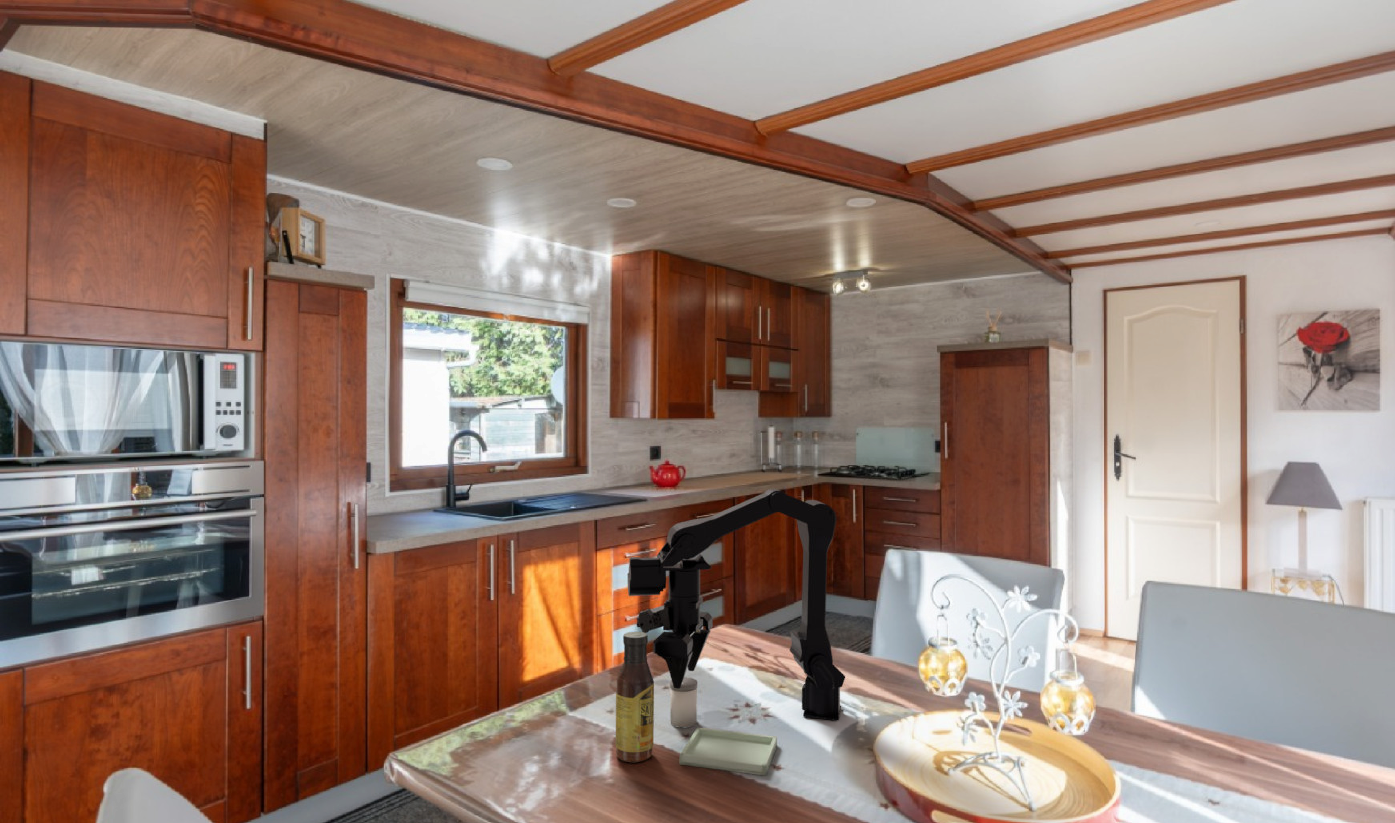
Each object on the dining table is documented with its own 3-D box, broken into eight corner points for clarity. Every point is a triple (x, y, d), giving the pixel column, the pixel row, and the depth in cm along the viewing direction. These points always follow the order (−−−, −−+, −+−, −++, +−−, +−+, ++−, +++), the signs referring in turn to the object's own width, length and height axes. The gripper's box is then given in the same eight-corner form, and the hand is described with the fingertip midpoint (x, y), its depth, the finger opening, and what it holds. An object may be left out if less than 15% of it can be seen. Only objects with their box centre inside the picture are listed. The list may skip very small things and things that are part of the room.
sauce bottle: (647, 766, 121) (648, 641, 121) (610, 762, 122) (610, 639, 122) (658, 748, 127) (658, 630, 127) (622, 744, 129) (622, 627, 128)
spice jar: (700, 718, 140) (700, 678, 140) (693, 729, 135) (693, 688, 135) (674, 715, 141) (674, 676, 141) (666, 725, 136) (666, 685, 136)
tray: (777, 745, 129) (777, 736, 129) (765, 775, 118) (765, 765, 118) (697, 735, 132) (697, 727, 132) (679, 764, 122) (679, 754, 122)
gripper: (658, 579, 149) (658, 658, 149) (624, 603, 131) (624, 693, 131) (713, 583, 146) (713, 663, 146) (686, 607, 128) (686, 699, 128)
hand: (684, 679), depth 138 cm, fingers open, 9 cm apart
